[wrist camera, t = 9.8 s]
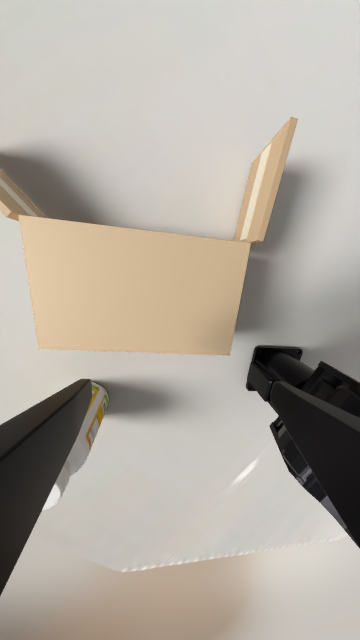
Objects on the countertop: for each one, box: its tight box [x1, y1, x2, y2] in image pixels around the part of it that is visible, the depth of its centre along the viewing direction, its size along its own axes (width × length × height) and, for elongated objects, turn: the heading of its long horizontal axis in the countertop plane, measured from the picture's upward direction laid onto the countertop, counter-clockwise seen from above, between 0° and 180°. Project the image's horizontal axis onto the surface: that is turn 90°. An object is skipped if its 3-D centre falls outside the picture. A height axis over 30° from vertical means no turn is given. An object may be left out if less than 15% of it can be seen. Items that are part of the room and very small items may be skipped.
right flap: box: [233, 117, 298, 245], centre depth 14 cm, size 8×1×5 cm, turn 170°
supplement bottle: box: [42, 382, 109, 510], centre depth 17 cm, size 5×5×10 cm
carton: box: [18, 215, 251, 355], centre depth 16 cm, size 16×10×6 cm, turn 85°
